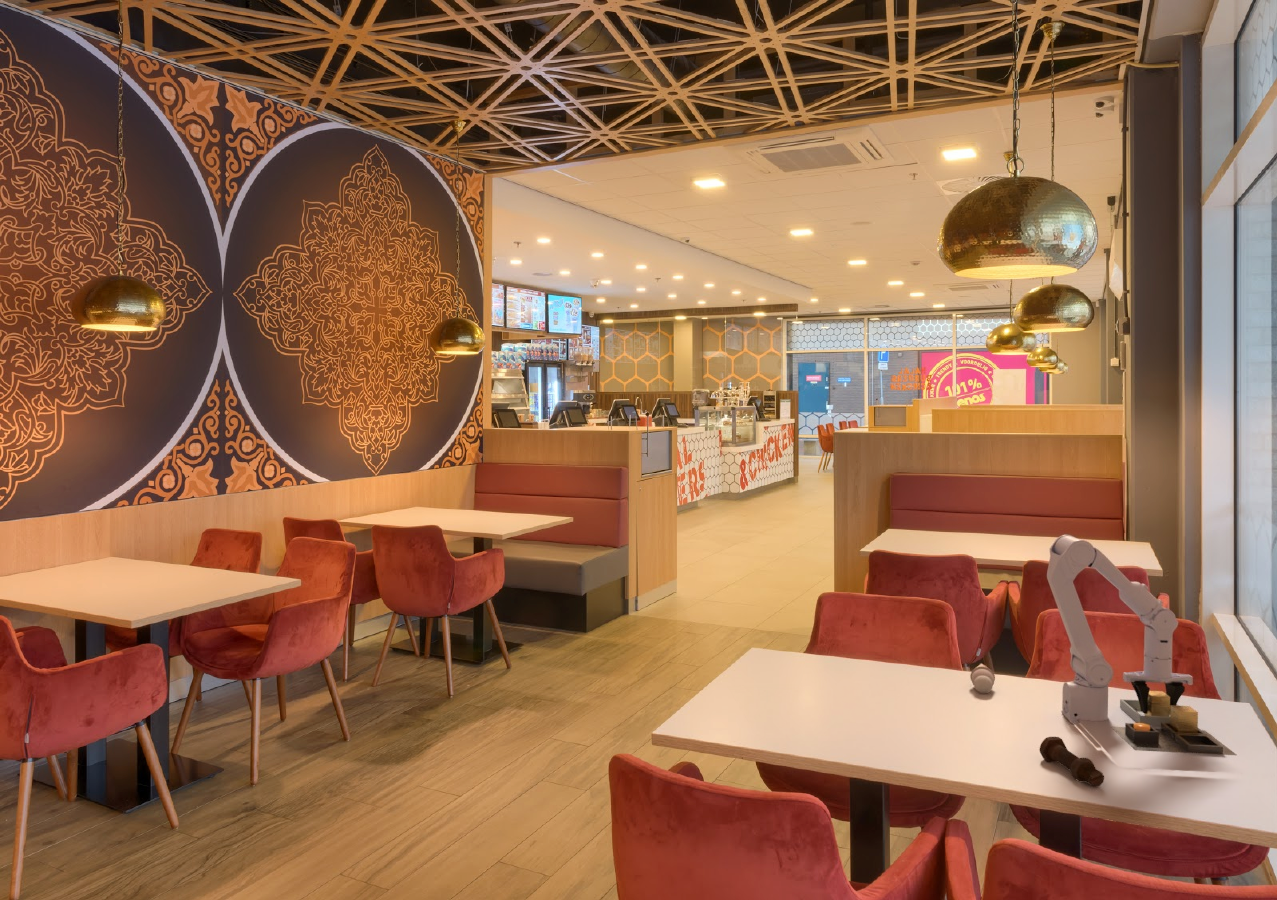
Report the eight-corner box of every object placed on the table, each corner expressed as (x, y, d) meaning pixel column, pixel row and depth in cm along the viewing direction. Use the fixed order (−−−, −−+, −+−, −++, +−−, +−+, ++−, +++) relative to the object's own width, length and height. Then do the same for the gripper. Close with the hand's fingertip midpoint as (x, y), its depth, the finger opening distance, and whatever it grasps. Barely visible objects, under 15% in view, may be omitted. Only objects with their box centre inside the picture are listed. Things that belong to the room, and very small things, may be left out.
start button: (1136, 738, 193) (1137, 727, 193) (1131, 733, 196) (1131, 722, 196) (1152, 739, 192) (1152, 728, 192) (1146, 734, 195) (1146, 723, 195)
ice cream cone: (982, 677, 241) (985, 703, 227) (964, 663, 242) (965, 688, 228) (998, 663, 239) (1001, 688, 225) (979, 648, 240) (982, 672, 226)
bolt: (1093, 798, 171) (1046, 765, 186) (1114, 784, 172) (1066, 752, 187) (1081, 774, 170) (1035, 743, 185) (1102, 760, 171) (1054, 730, 186)
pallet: (1134, 754, 188) (1135, 738, 188) (1110, 730, 202) (1110, 715, 201) (1236, 759, 185) (1237, 743, 184) (1205, 734, 198) (1205, 719, 198)
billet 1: (1151, 721, 206) (1151, 696, 205) (1144, 715, 210) (1144, 690, 209) (1169, 721, 205) (1170, 696, 205) (1162, 715, 209) (1162, 691, 209)
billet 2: (1177, 737, 194) (1178, 711, 194) (1169, 731, 198) (1170, 705, 198) (1197, 738, 194) (1197, 712, 193) (1189, 732, 198) (1189, 706, 197)
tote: (1139, 728, 202) (1140, 716, 202) (1119, 711, 214) (1120, 699, 214) (1196, 731, 201) (1196, 718, 200) (1172, 713, 212) (1173, 701, 212)
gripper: (1131, 659, 204) (1130, 717, 205) (1199, 662, 202) (1198, 720, 202) (1120, 651, 211) (1119, 706, 211) (1185, 653, 209) (1184, 709, 209)
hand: (1156, 712), depth 207 cm, fingers open, 5 cm apart
